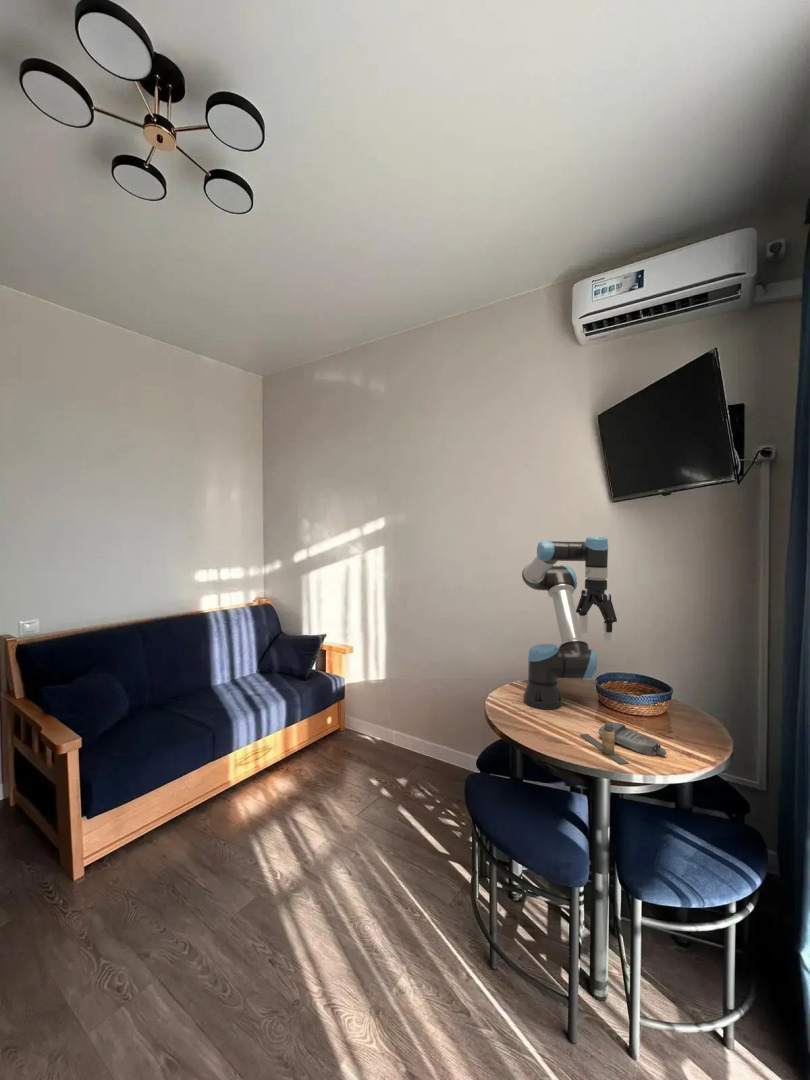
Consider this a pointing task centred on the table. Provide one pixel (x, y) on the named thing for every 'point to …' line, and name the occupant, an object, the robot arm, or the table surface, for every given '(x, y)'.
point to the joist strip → (599, 746)
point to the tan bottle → (608, 739)
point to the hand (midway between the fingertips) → (594, 637)
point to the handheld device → (635, 740)
